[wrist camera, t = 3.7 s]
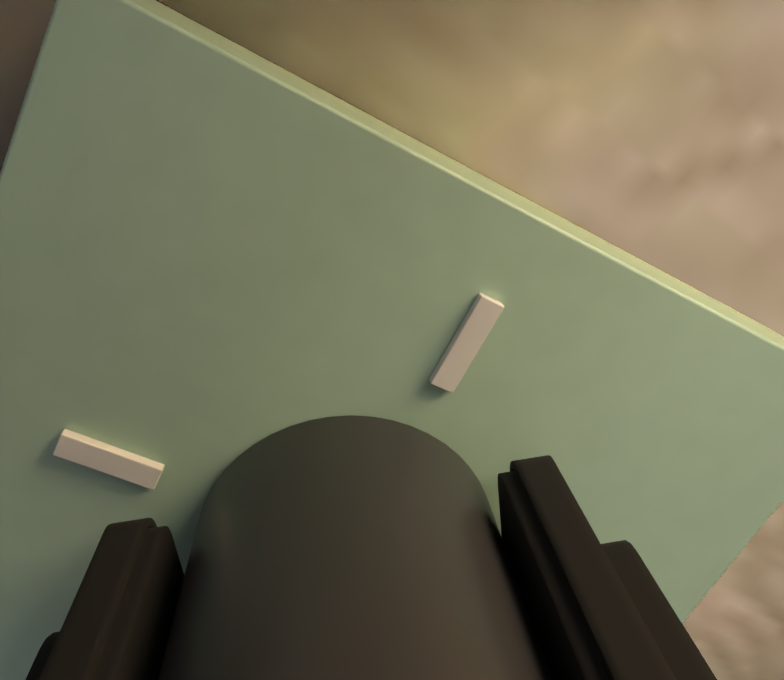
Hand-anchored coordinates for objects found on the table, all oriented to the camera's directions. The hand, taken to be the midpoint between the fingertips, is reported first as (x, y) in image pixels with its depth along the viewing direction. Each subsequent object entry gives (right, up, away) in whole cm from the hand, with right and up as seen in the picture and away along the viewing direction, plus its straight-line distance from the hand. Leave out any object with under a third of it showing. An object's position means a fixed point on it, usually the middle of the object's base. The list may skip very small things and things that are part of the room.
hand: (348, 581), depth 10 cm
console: (0, +1, +3) cm, 3 cm away
